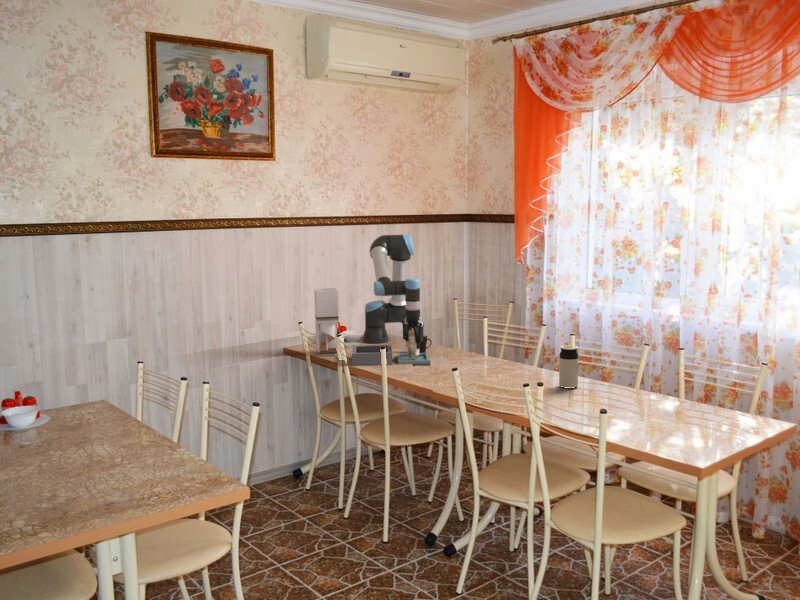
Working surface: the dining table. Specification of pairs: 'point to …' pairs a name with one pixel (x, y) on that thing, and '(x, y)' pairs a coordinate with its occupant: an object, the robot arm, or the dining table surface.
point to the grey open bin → (370, 355)
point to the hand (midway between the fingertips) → (413, 354)
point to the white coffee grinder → (326, 320)
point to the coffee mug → (424, 344)
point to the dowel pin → (412, 344)
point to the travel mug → (568, 366)
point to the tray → (413, 359)
